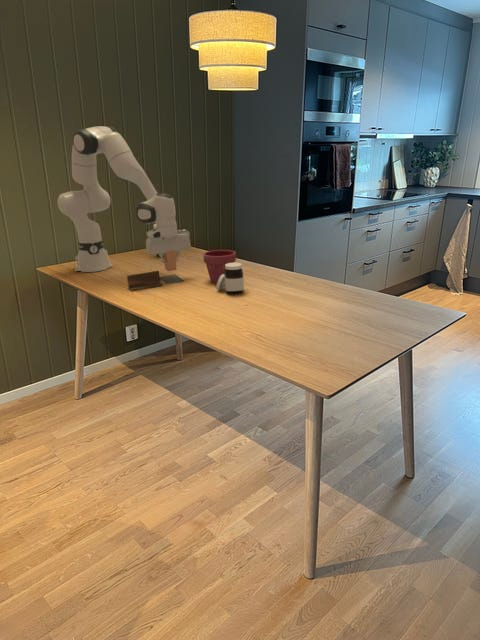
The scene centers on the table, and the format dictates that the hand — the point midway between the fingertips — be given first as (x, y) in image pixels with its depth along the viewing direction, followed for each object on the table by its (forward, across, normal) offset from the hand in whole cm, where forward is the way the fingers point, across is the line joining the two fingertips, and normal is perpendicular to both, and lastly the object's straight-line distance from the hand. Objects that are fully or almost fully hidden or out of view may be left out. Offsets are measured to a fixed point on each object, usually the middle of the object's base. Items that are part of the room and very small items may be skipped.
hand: (170, 262), depth 213 cm
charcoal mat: (+8, 0, 0) cm, 8 cm away
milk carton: (+8, -14, -49) cm, 52 cm away
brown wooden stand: (+8, +14, +5) cm, 17 cm away
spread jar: (+9, -14, +32) cm, 36 cm away
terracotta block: (+4, 0, 0) cm, 4 cm away
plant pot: (+9, -18, +15) cm, 25 cm away
